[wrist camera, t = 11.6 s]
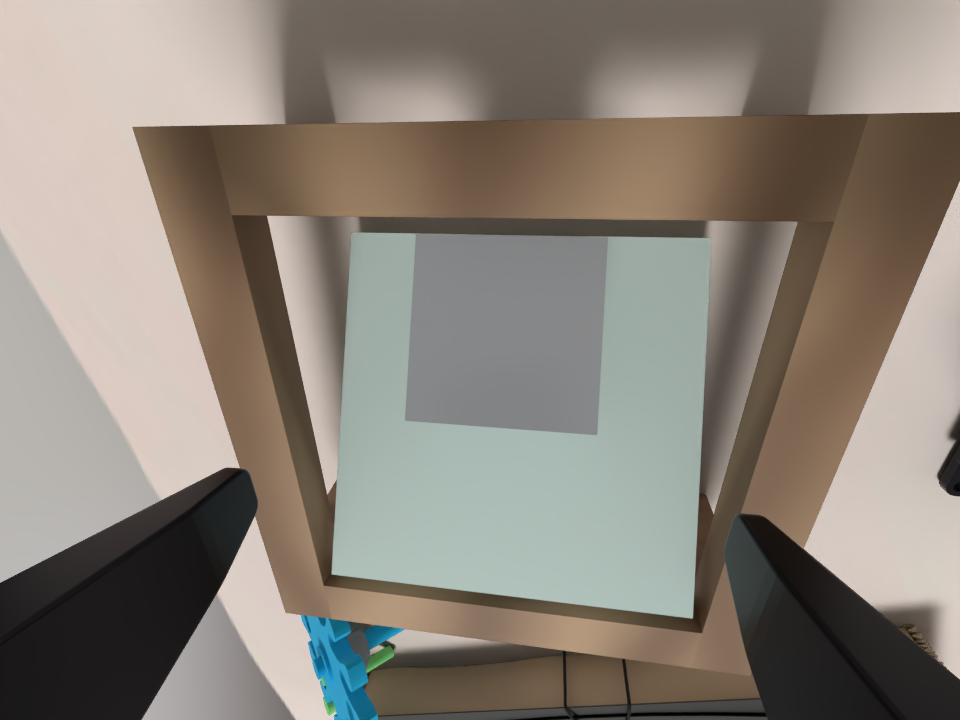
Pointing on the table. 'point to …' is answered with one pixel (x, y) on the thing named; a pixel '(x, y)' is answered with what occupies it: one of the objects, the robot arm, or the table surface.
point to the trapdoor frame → (562, 195)
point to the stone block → (507, 331)
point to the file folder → (569, 690)
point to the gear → (346, 664)
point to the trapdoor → (531, 449)
